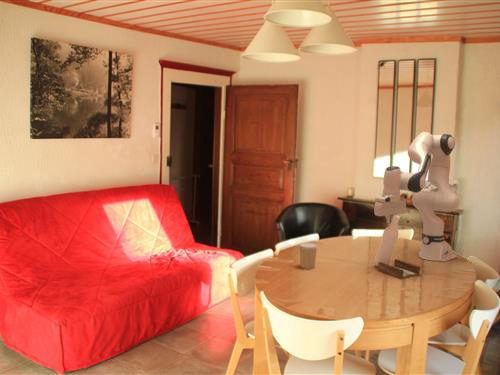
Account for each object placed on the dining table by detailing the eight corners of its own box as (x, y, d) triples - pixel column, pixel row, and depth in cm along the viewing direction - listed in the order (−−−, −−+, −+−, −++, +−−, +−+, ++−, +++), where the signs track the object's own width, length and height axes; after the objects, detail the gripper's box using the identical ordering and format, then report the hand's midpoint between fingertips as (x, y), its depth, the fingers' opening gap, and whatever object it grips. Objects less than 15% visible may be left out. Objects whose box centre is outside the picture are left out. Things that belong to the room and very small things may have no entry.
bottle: (388, 270, 273) (404, 221, 262) (373, 266, 274) (389, 217, 263) (387, 262, 281) (404, 214, 269) (373, 259, 282) (389, 211, 270)
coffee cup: (318, 265, 277) (319, 244, 275) (313, 270, 269) (313, 248, 267) (302, 263, 281) (302, 242, 279) (296, 267, 273) (297, 246, 271)
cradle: (396, 267, 277) (396, 259, 276) (419, 275, 263) (419, 266, 263) (377, 270, 270) (378, 262, 270) (400, 279, 257) (401, 270, 256)
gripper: (400, 195, 276) (399, 220, 278) (372, 197, 266) (371, 223, 268) (409, 196, 271) (408, 222, 273) (381, 199, 260) (380, 226, 262)
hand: (389, 223), depth 270 cm, fingers closed
